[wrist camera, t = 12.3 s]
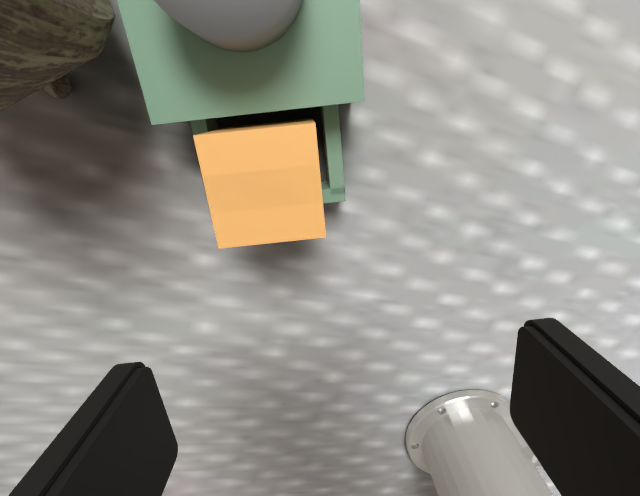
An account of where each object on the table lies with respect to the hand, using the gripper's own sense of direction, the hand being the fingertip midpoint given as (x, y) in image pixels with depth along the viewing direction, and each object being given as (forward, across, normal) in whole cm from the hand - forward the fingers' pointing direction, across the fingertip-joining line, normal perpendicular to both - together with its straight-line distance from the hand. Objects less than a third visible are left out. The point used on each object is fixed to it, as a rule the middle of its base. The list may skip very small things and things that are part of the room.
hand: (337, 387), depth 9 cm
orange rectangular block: (+20, +3, -5) cm, 20 cm away
